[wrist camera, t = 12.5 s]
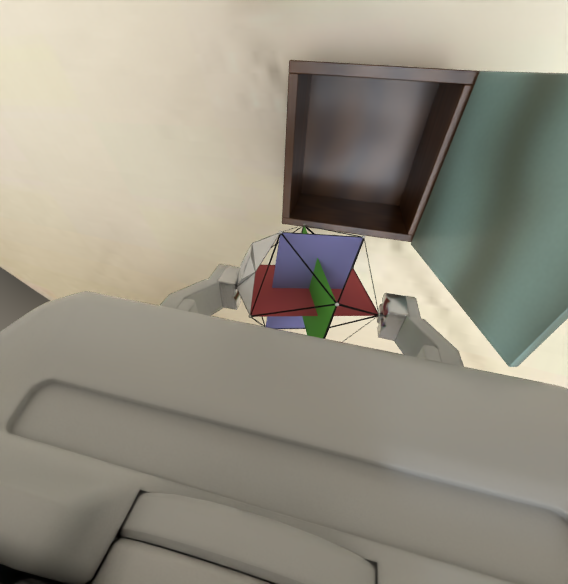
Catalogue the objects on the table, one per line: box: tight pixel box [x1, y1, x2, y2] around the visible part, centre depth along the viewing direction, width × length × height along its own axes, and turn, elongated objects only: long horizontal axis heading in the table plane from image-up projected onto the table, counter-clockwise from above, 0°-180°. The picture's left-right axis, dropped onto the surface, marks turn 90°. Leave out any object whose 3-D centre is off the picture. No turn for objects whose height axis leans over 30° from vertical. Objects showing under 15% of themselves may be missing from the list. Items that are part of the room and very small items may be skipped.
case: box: [282, 60, 480, 242], centre depth 28 cm, size 14×14×9 cm
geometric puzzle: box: [237, 224, 381, 341], centre depth 15 cm, size 7×7×8 cm
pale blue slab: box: [411, 71, 568, 367], centre depth 18 cm, size 15×14×1 cm
